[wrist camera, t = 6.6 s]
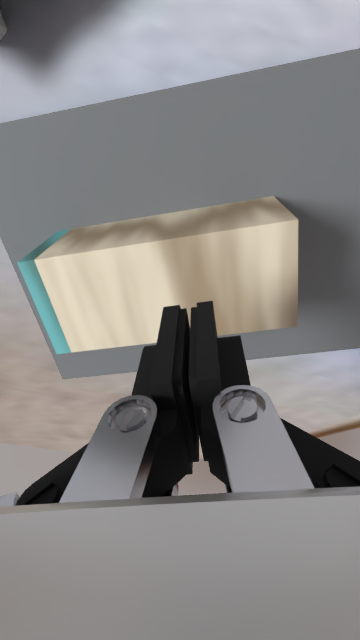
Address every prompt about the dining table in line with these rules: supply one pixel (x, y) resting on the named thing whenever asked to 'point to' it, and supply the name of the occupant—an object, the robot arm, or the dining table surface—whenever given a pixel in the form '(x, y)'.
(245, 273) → the birch block
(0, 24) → the grey jagged stone ring
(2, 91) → the dining table surface
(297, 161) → the rubber mat
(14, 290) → the dining table surface
